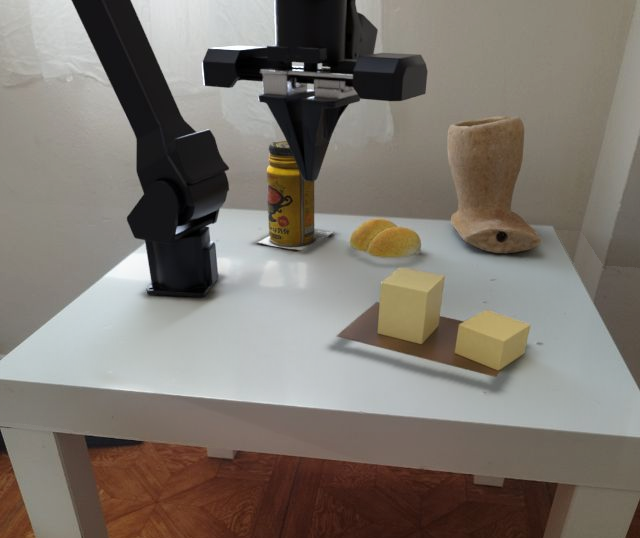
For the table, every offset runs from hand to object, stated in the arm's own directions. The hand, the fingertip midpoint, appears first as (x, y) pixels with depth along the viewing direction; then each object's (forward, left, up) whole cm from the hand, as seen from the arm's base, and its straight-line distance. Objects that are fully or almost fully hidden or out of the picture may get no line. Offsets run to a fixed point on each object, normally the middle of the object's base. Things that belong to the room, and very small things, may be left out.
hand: (310, 180), depth 56 cm
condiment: (-5, +23, -13) cm, 27 cm away
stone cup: (+20, +27, -13) cm, 36 cm away
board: (+12, -6, -13) cm, 19 cm away
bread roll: (+7, +19, -13) cm, 24 cm away
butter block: (+10, -5, -12) cm, 16 cm away
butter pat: (+17, -9, -9) cm, 21 cm away
